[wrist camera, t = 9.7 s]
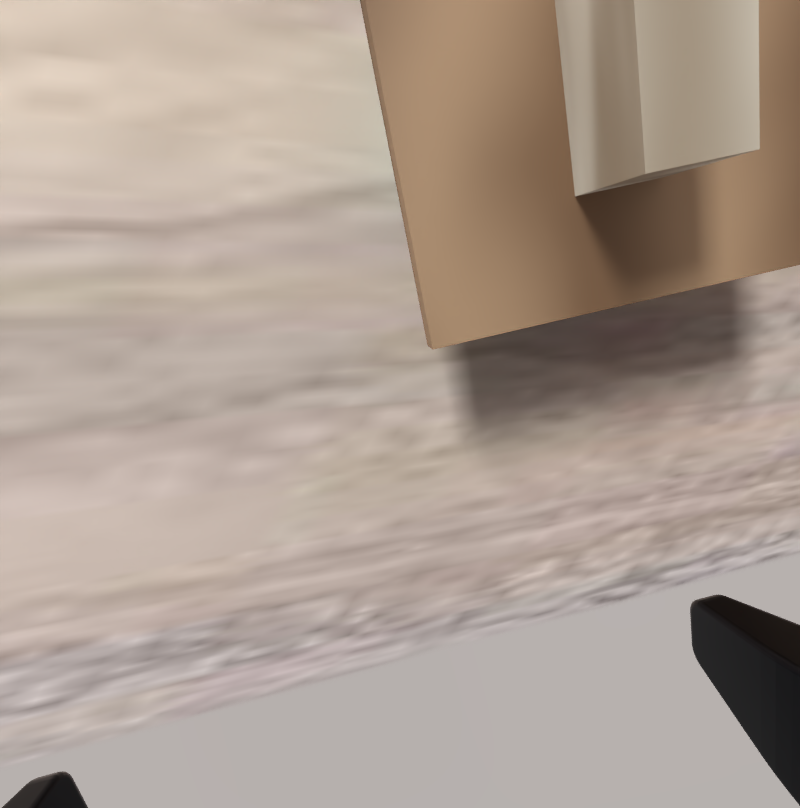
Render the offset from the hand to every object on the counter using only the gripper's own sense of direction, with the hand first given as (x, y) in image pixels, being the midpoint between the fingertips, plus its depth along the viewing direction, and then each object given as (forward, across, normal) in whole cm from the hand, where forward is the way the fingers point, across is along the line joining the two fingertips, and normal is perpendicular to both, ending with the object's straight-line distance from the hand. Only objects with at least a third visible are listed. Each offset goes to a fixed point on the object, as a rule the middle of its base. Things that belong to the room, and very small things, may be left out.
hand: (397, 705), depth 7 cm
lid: (+8, -8, -9) cm, 15 cm away
